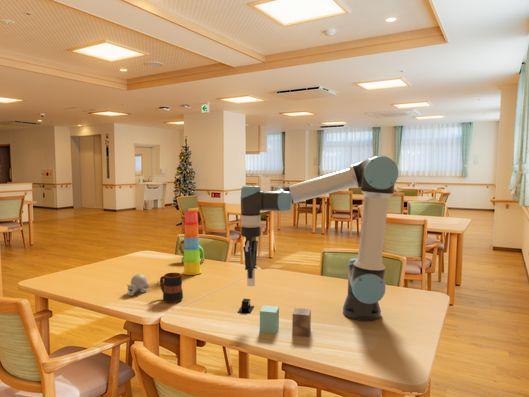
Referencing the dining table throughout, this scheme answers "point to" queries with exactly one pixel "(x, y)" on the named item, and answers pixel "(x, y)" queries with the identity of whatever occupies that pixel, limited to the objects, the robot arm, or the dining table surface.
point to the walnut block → (301, 322)
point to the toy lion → (181, 246)
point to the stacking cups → (191, 244)
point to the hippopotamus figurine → (137, 284)
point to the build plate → (245, 307)
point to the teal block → (269, 319)
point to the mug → (172, 287)
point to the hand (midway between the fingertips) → (251, 285)
